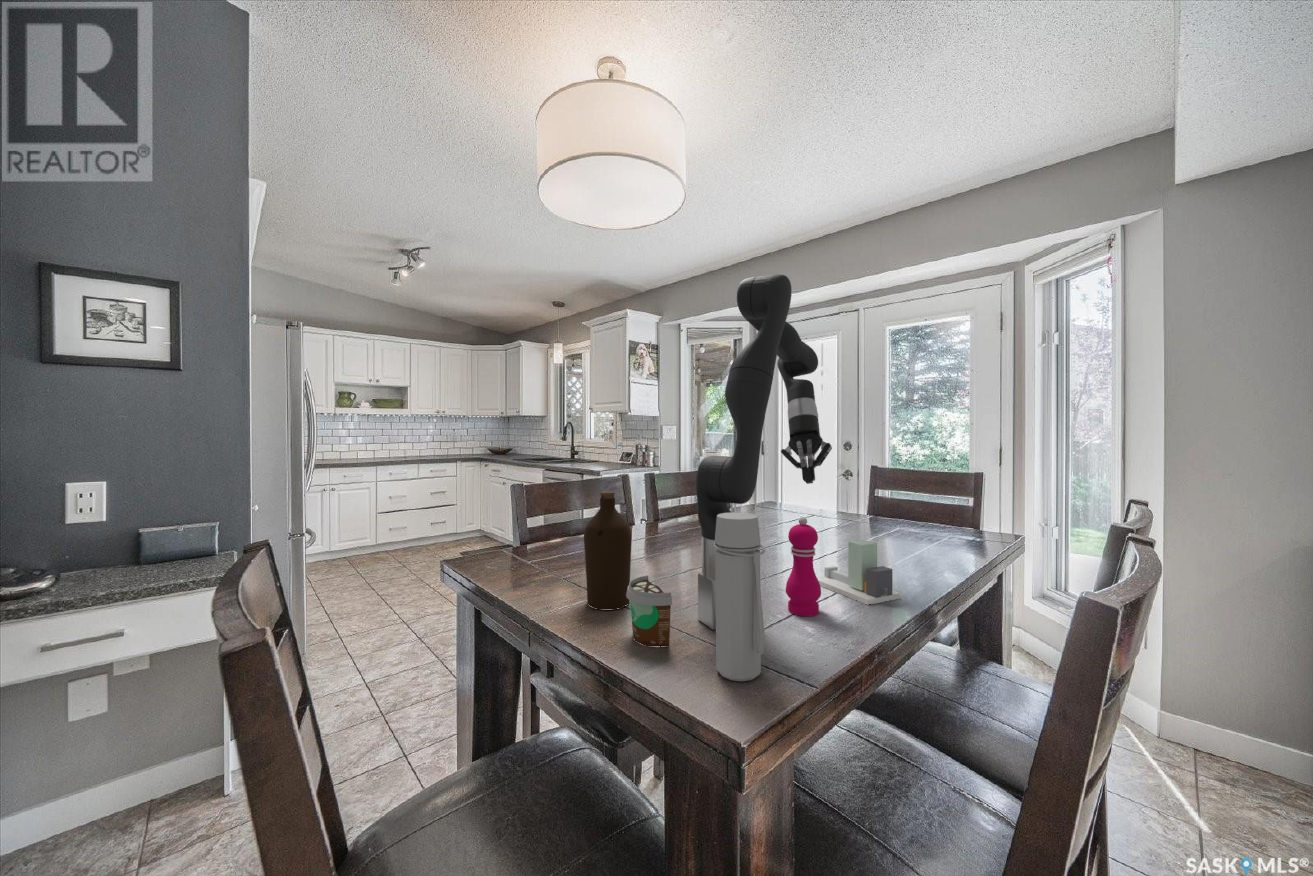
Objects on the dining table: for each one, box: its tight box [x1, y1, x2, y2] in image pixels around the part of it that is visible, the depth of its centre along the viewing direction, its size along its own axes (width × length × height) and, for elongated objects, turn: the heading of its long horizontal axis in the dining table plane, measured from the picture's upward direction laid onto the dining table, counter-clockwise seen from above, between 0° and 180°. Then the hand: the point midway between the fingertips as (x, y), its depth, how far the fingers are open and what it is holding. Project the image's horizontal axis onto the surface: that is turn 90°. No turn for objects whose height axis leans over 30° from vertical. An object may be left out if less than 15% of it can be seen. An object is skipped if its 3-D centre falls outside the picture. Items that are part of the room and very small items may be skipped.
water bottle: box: [714, 511, 767, 682], centre depth 78 cm, size 9×8×25 cm
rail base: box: [817, 565, 902, 606], centre depth 119 cm, size 10×17×7 cm, turn 23°
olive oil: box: [583, 490, 633, 610], centre depth 111 cm, size 11×11×25 cm
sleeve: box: [847, 539, 878, 591], centre depth 116 cm, size 5×4×10 cm
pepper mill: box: [785, 516, 822, 617], centre depth 105 cm, size 7×7×20 cm
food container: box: [626, 575, 673, 648], centre depth 92 cm, size 12×6×10 cm, turn 22°
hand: (809, 482), depth 124 cm, fingers closed
